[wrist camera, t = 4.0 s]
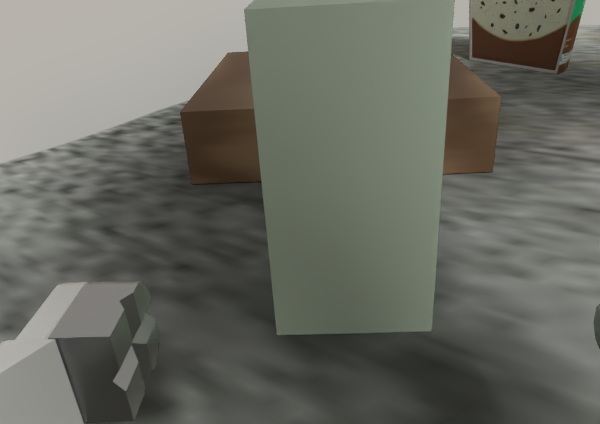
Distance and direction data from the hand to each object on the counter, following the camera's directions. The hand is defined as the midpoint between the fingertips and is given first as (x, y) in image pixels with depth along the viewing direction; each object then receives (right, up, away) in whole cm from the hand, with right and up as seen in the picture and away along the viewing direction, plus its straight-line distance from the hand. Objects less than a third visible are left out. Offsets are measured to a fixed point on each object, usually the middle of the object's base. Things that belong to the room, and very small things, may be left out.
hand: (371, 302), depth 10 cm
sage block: (+1, -1, +10) cm, 10 cm away
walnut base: (+1, +7, +26) cm, 27 cm away
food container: (+21, +16, +41) cm, 48 cm away
